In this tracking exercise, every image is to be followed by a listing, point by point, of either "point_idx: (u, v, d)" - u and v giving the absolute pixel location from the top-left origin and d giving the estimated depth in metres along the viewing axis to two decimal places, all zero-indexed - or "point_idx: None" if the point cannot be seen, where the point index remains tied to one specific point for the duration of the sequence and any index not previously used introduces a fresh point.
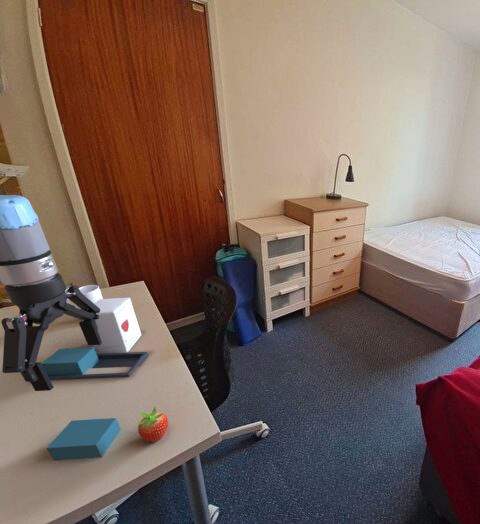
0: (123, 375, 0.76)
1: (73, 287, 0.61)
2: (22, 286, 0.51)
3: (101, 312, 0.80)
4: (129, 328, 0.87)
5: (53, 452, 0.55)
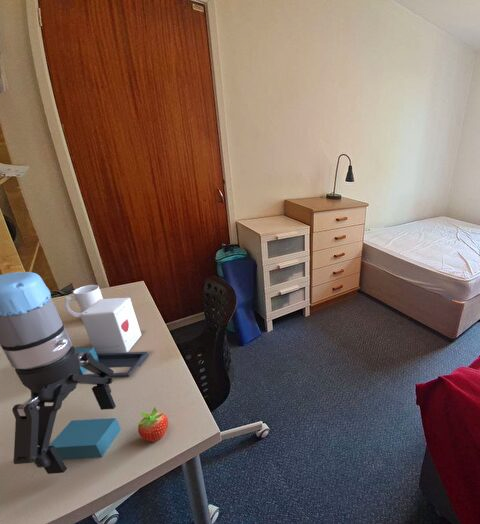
0: (123, 375, 0.76)
1: (86, 355, 0.58)
2: (34, 368, 0.47)
3: (101, 312, 0.80)
4: (129, 328, 0.87)
5: None
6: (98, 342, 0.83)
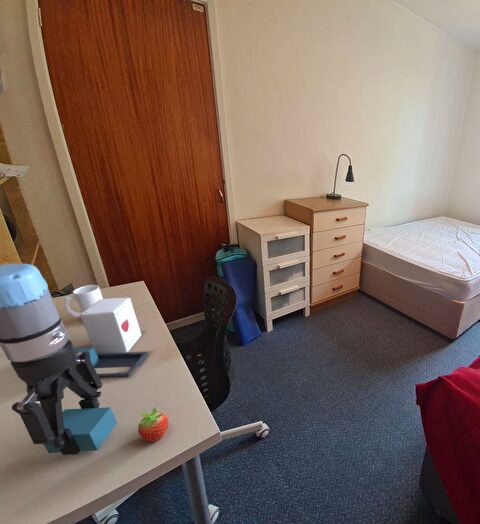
0: (123, 375, 0.76)
1: (85, 353, 0.57)
2: (30, 361, 0.47)
3: (101, 312, 0.80)
4: (129, 328, 0.87)
5: None
6: (98, 342, 0.83)
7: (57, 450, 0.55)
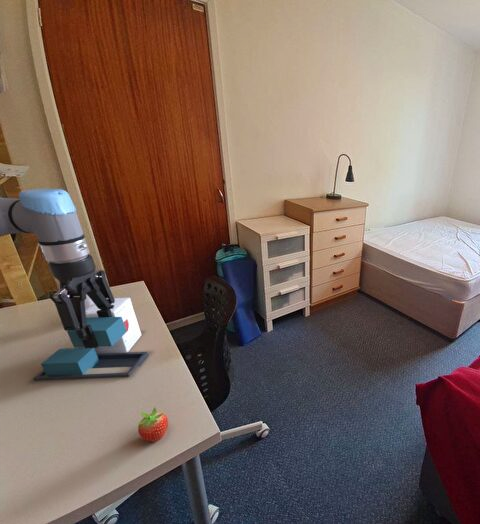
0: (123, 375, 0.76)
1: (101, 271, 0.73)
2: (62, 263, 0.62)
3: None
4: (129, 328, 0.87)
5: (72, 335, 0.70)
6: None
7: (80, 345, 0.71)
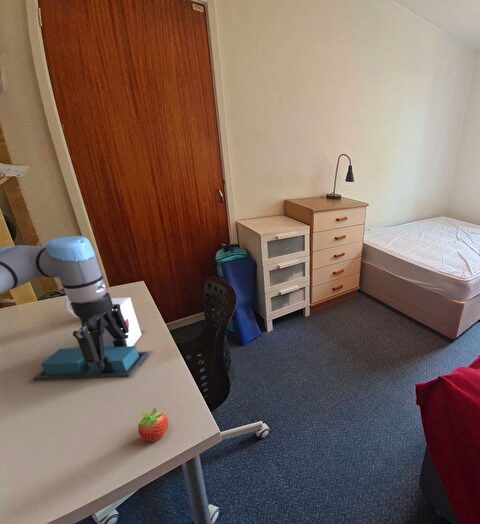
0: (123, 375, 0.76)
1: (117, 305, 0.79)
2: (84, 303, 0.69)
3: None
4: (129, 328, 0.87)
5: (91, 365, 0.76)
6: None
7: (99, 373, 0.77)
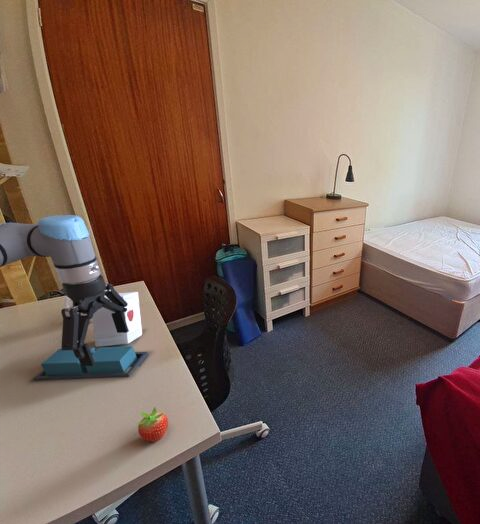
0: (123, 375, 0.76)
1: (109, 285, 0.77)
2: (76, 284, 0.66)
3: None
4: (133, 320, 0.89)
5: (88, 366, 0.76)
6: (101, 330, 0.84)
7: None
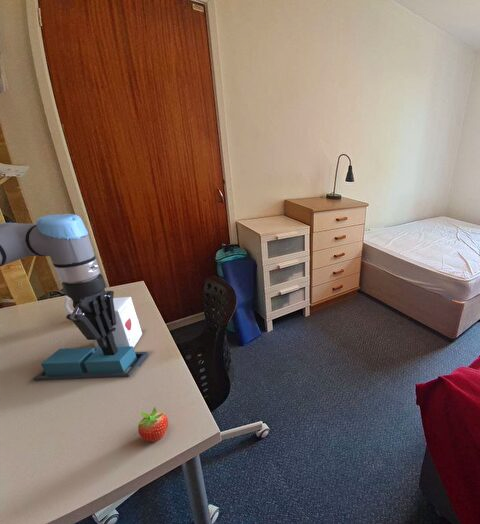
0: (123, 375, 0.76)
1: (111, 291, 0.77)
2: (75, 283, 0.66)
3: None
4: (132, 327, 0.88)
5: (88, 366, 0.76)
6: None
7: None
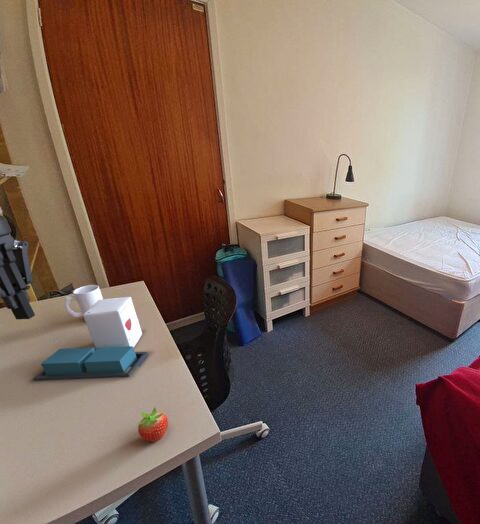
0: (123, 375, 0.76)
1: (24, 241, 0.64)
2: None
3: (105, 312, 0.81)
4: (132, 327, 0.88)
5: (88, 366, 0.76)
6: (101, 342, 0.83)
7: None
